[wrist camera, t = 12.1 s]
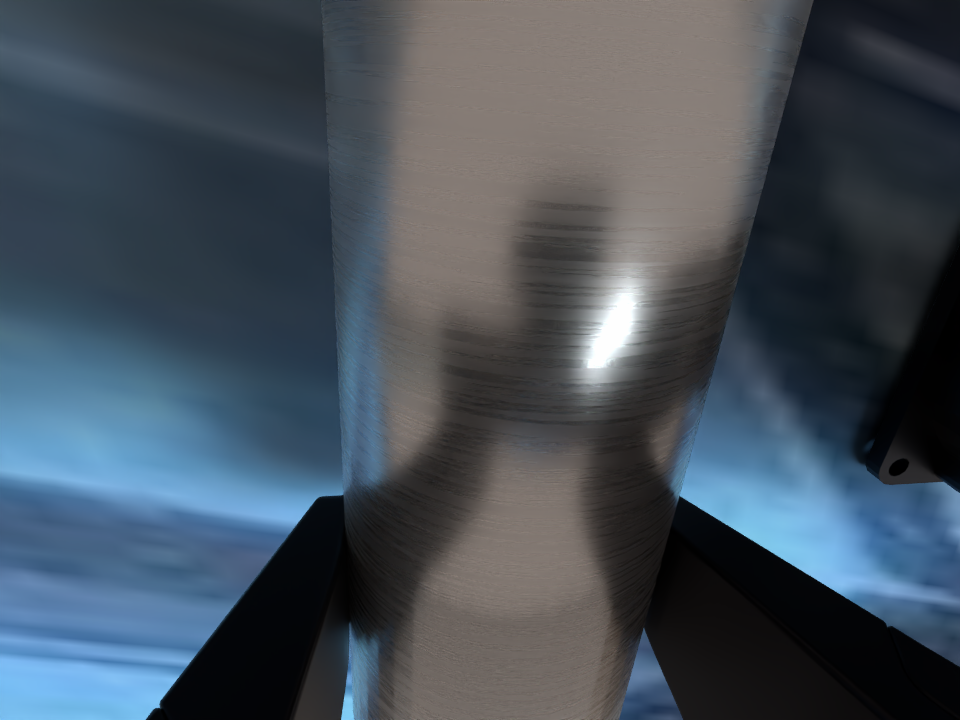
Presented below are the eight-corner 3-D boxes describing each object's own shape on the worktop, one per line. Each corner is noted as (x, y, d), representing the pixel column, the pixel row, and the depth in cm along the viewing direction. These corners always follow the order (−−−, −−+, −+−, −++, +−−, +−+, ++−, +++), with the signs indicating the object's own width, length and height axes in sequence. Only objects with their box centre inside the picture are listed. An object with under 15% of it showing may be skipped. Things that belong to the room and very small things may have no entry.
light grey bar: (572, 577, 11) (659, 815, 7) (359, 590, 10) (344, 856, 7) (733, -294, 6) (1267, -868, 2) (327, -372, 5) (195, -1333, 2)
